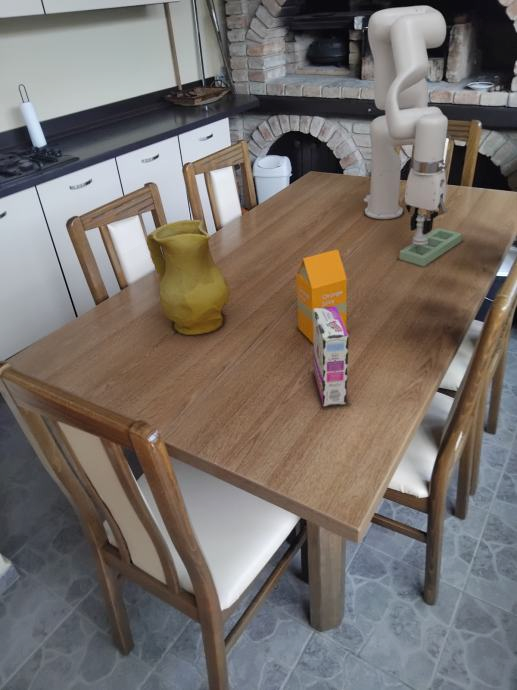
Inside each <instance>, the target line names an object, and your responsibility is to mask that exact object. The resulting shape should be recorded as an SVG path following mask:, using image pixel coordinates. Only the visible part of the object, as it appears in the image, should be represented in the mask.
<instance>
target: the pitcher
mask: <svg viewBox="0 0 517 690" xmlns="http://www.w3.org/2000/svg"><path fill="white" fill-rule="evenodd" d="M210 239H211V236H210V234H209V233H208V232H206V229H205V222H204V221H203V220H202V219H182V220H177V221H173V222H170V223H166V224H163V225H161V226H159V227H156V228H155V229H154V230H153V231H151V232H150V233H148V234H147V236H146V245H147V248H148V251H150V259H151V261H152V264H153V265H154V266H155V271H156V273H157V275H158V282H159V286H158V297H159V303H160V306H161V309H162V312H163V314H164V315H165V317H166V318H167V319H168V320H170V321H172V322H174V325H173V326H174V329H175V331H177V333H178V334H183V335H187V336H188V335H190V336H192V335H194V336H196V335H202V334H206V333H207V334H208V333H211V332H213V331H216V330H217V329H219V328H221V326H223V321H224V316H223V314H222V310H223V308H224V307H225V306H227V305H228V302H229V300H230V296H231V292H230V286H229V283H228V281H227V278H226V277H225V275H224V273H223V272H222V271H221V270H220V269H219V267H218V266H217V265H216V263H215V261H214V258H213V255H212V253H211V248H210V243H209V241H210Z"/></svg>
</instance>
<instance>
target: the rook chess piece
mask: <svg viewBox="0 0 517 690" xmlns="http://www.w3.org/2000/svg"><path fill="white" fill-rule="evenodd" d="M419 215H420V216H419ZM419 215H418V216H417V218H416V220H417V224H416V225H417V229H415V232H414V234H413V237H412V240H411V243H412V244H415V245H418V246H422V245H426V244H427V243H428V236H427V234H428V233H427V234H423V228H424V221H425V220H426V213H425V214H424V213H423V214H422V213H419Z"/></svg>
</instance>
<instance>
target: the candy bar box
mask: <svg viewBox="0 0 517 690" xmlns="http://www.w3.org/2000/svg"><path fill="white" fill-rule="evenodd" d="M349 339H350V335H349V333H348V330H347V327H346V328H345V326H344V323H343V321H342V318H341V316H340V313H339V311H338V308H337V306H333V307H323V308H314V344H313V374H314V378H315V382H316V385H317V389H318V393H319V397H320V399H321V404H322V407H323V408H324V407H325V408H326V407H334V406H335V407H336V406H344V405H347V398H348V397H347V395H348V367H349V366H348V365H349V364H348V363H349Z"/></svg>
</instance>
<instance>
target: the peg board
mask: <svg viewBox="0 0 517 690" xmlns="http://www.w3.org/2000/svg"><path fill="white" fill-rule="evenodd" d="M427 236H428V243H427V244H426V245H422V246H418V245H415V244H413V243H411V244H409V245H408V246H406V247H404V248H403V249H401V250H399V256H398V259H399V260H401V261H405V262H408V263H411V264H414V265H417V266H421V267H425V266H427V265H428V264H430V263H431V262H433V261H435V260H436V259H437V258H439V257H440V256H441V255H443V254H445V253H446V252H448V251H449V250H451V249H453V248H454V247H455V246H457V245H458V244H459V243H461V242H462V238H463V233H462V232H461V233H460V232H458V231H453V230H449V229H445V228H441V227H437V228H435V229H434V230H431V231H430V232H429V233H427Z"/></svg>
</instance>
